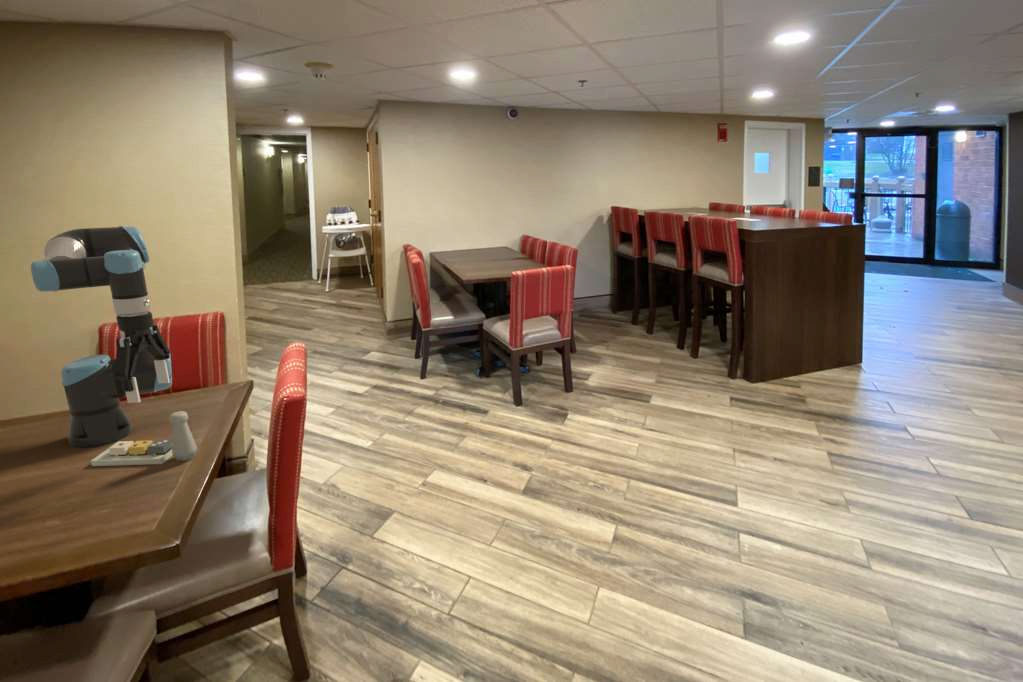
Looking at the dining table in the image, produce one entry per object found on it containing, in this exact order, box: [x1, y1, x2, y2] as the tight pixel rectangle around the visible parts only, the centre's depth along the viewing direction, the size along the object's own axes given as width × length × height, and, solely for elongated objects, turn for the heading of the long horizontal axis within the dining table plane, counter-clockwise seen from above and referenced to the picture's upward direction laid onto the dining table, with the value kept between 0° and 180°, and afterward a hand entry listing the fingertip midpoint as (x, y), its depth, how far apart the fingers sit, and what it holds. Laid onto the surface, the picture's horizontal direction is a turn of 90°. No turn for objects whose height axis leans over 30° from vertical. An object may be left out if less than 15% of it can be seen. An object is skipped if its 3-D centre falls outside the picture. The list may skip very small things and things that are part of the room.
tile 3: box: [148, 439, 172, 455], centre depth 151 cm, size 4×4×2 cm
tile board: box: [90, 447, 173, 467], centre depth 151 cm, size 18×9×2 cm, turn 92°
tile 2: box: [128, 439, 154, 455], centre depth 151 cm, size 4×4×2 cm
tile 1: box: [108, 440, 135, 456], centre depth 151 cm, size 4×4×2 cm
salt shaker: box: [168, 410, 198, 462], centre depth 149 cm, size 6×6×13 cm
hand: (149, 392), depth 147 cm, fingers open, 13 cm apart
